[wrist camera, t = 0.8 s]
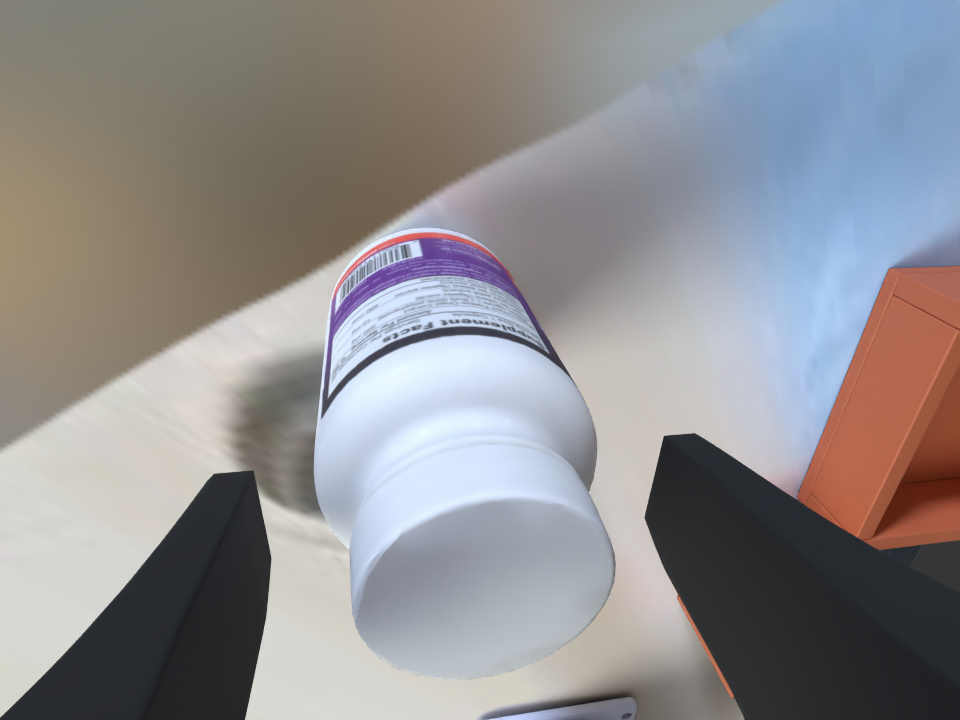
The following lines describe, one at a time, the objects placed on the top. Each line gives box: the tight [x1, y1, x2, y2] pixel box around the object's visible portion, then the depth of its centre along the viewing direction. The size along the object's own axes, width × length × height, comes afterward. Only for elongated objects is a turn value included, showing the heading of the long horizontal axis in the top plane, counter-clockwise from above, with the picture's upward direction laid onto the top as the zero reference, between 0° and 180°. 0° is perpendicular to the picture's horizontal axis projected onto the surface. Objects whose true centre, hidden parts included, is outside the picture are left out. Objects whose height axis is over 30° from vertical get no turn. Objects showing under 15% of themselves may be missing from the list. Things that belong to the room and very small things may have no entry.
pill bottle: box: [314, 228, 616, 679], centre depth 13 cm, size 5×5×10 cm
